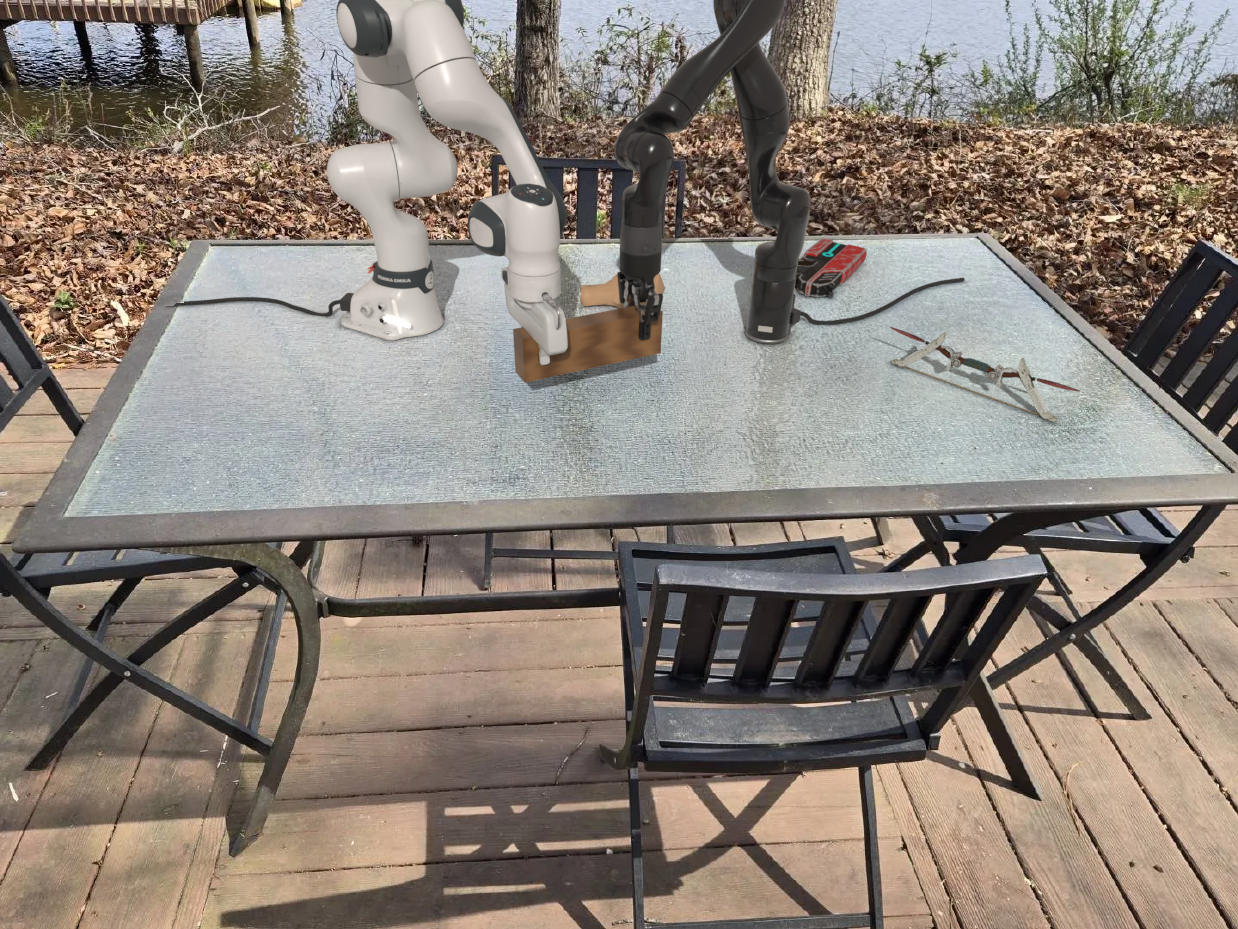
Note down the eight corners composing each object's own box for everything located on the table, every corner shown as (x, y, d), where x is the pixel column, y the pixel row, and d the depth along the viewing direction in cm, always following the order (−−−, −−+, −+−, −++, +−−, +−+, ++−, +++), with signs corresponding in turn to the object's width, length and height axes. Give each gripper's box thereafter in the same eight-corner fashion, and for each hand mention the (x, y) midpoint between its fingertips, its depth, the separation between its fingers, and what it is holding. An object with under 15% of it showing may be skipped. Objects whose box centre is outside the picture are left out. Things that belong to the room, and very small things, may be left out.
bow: (1069, 424, 166) (1086, 377, 160) (1066, 427, 164) (1083, 380, 159) (885, 357, 187) (894, 314, 181) (880, 360, 186) (890, 317, 180)
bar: (524, 382, 157) (522, 339, 152) (515, 371, 160) (512, 328, 156) (660, 353, 168) (662, 311, 163) (649, 343, 171) (650, 302, 166)
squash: (667, 316, 202) (664, 283, 196) (581, 324, 204) (575, 291, 198) (665, 291, 210) (662, 258, 204) (583, 298, 212) (577, 266, 205)
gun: (756, 267, 217) (831, 286, 209) (802, 230, 239) (871, 246, 231) (754, 284, 219) (828, 303, 212) (800, 246, 241) (868, 263, 233)
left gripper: (576, 302, 144) (576, 377, 152) (530, 261, 159) (532, 330, 167) (541, 309, 142) (543, 384, 149) (497, 266, 157) (501, 336, 164)
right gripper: (679, 256, 152) (673, 345, 162) (640, 230, 163) (637, 315, 173) (640, 262, 150) (637, 352, 159) (604, 236, 160) (603, 322, 170)
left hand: (537, 355), depth 158 cm, fingers closed on bar, 4 cm apart
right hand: (637, 333), depth 166 cm, fingers closed on bar, 4 cm apart
